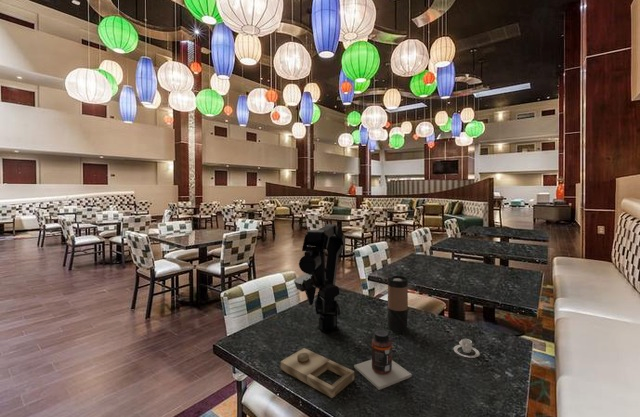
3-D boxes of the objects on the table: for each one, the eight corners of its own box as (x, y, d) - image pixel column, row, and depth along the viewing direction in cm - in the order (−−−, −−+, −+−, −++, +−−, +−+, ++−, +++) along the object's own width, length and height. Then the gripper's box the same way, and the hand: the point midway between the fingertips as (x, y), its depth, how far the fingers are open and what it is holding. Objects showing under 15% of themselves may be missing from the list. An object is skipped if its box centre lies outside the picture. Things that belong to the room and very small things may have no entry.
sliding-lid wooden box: (354, 379, 89) (354, 367, 89) (332, 398, 82) (331, 385, 81) (304, 355, 103) (303, 344, 103) (280, 369, 95) (280, 357, 95)
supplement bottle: (393, 375, 90) (393, 338, 89) (373, 375, 90) (372, 337, 89) (389, 363, 96) (389, 328, 95) (370, 363, 96) (370, 328, 95)
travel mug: (408, 333, 116) (408, 282, 115) (387, 332, 118) (387, 281, 116) (406, 324, 124) (407, 276, 122) (387, 323, 125) (387, 275, 124)
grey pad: (354, 367, 95) (354, 365, 95) (384, 357, 101) (384, 354, 101) (379, 390, 85) (379, 387, 85) (411, 376, 90) (411, 374, 90)
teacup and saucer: (460, 343, 110) (460, 332, 109) (484, 351, 104) (484, 339, 104) (449, 352, 104) (449, 340, 103) (474, 362, 98) (474, 349, 98)
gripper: (284, 263, 111) (285, 305, 112) (312, 275, 95) (313, 324, 96) (310, 259, 117) (311, 299, 118) (340, 269, 102) (341, 315, 103)
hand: (318, 308), depth 109 cm, fingers open, 9 cm apart
